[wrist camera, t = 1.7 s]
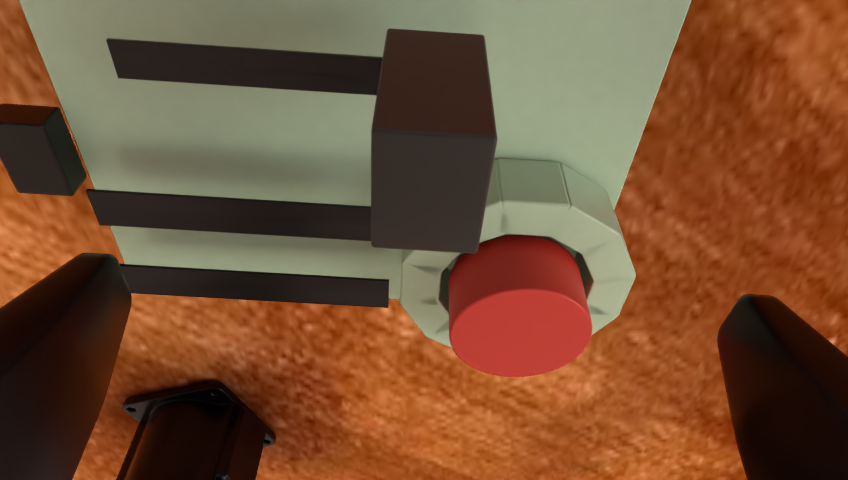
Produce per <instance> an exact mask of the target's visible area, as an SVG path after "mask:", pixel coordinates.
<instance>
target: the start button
mask: <svg viewBox="0 0 848 480" xmlns="http://www.w3.org/2000/svg"><path fill="white" fill-rule="evenodd" d="M448 288H449V339H450V344H451V346H452V348H453V350H454V352H455V353H456V355H457V356H458V357H459V358H460V359H461V360H462V361H463V362H465V363H466V364H467V365H469V366H471V367H473V368H475V369H477V370H479V371H482V372H485V373H488V374H492V375H498V376H506V377H524V376H533V375H538V374H543V373H546V372H550V371H553V370H555V369H558V368H560V367H562V366H564V365H566V364H568V363H569V362H571V361H573V360H574V359H575V358H576V357H578V356H579V355H580V354H581V353H582V352H583V351H584V349H585V348H586V347H587V345H588V343H589V341H590V338H591V335H592V328H593V327H592V320H591V316H590V312H589V307H588V303H587V299H586V295H585V291H584V286H583V282H582V278H581V274H580V270H579V267H578V264H577V262H576V260H575V258H574V257H573V256H572V255H571V254H570V252H568V251H567V250H566V249H565V248H564V247H562V246H561V245H559V244H558V243H555V242H553V241H551V240H549V239H546V238H543V237H538V236H533V235H506V236H500V237H496V238H493V239H490V240H487V241H484V242H481V243H479V248H478V251H477V253H475V254H471V253H464V254H463V255H462V256H461V257H460V258H459V259H458V260H457V262H456V263H455V265H454V266H453V268H452V270H451V272H450V276H449V284H448Z"/></svg>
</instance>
